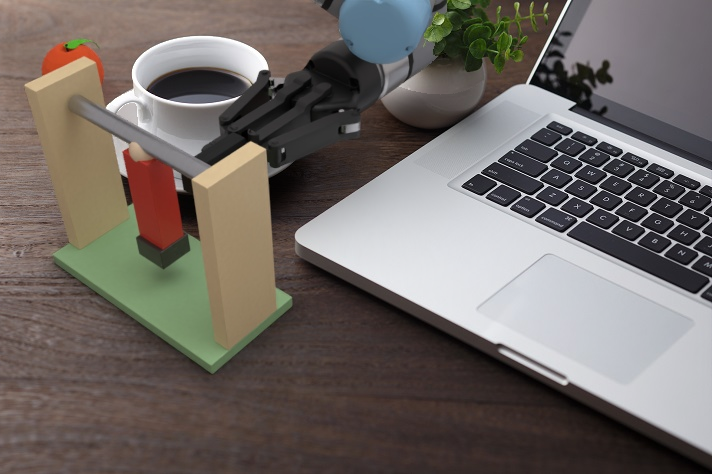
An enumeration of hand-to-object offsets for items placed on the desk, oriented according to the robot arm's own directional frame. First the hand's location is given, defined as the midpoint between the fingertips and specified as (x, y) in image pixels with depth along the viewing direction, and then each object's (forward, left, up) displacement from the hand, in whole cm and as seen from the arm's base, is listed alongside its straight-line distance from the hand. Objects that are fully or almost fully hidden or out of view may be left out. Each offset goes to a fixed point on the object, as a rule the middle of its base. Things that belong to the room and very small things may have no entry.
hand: (187, 181), depth 71 cm
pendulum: (0, -4, -6) cm, 7 cm away
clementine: (-32, +11, -10) cm, 35 cm away
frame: (0, -4, -10) cm, 10 cm away
